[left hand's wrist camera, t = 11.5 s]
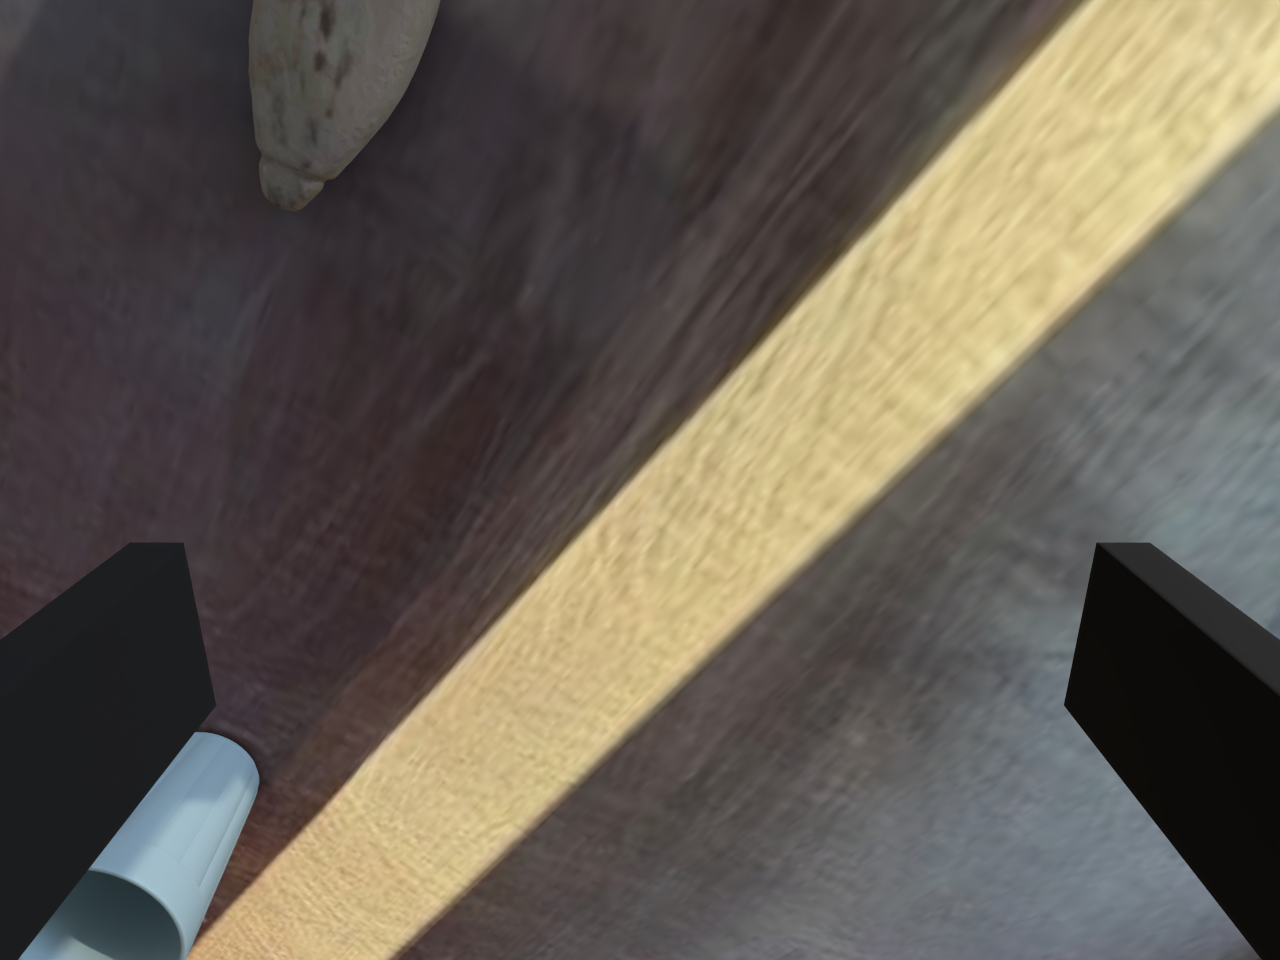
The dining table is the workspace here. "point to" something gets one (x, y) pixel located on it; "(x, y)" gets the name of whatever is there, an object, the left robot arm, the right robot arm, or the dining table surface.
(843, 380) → the dining table surface
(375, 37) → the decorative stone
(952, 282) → the dining table surface
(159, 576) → the left robot arm
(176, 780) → the cup
